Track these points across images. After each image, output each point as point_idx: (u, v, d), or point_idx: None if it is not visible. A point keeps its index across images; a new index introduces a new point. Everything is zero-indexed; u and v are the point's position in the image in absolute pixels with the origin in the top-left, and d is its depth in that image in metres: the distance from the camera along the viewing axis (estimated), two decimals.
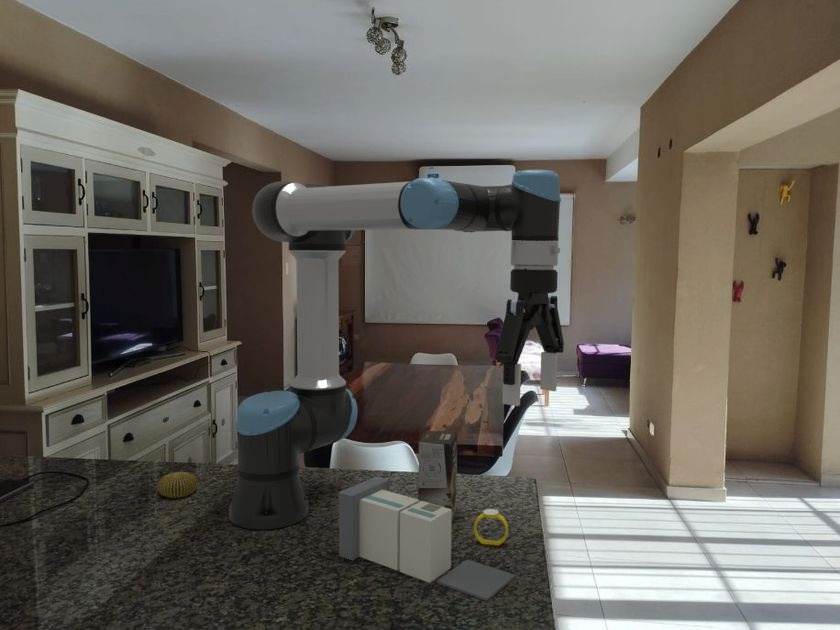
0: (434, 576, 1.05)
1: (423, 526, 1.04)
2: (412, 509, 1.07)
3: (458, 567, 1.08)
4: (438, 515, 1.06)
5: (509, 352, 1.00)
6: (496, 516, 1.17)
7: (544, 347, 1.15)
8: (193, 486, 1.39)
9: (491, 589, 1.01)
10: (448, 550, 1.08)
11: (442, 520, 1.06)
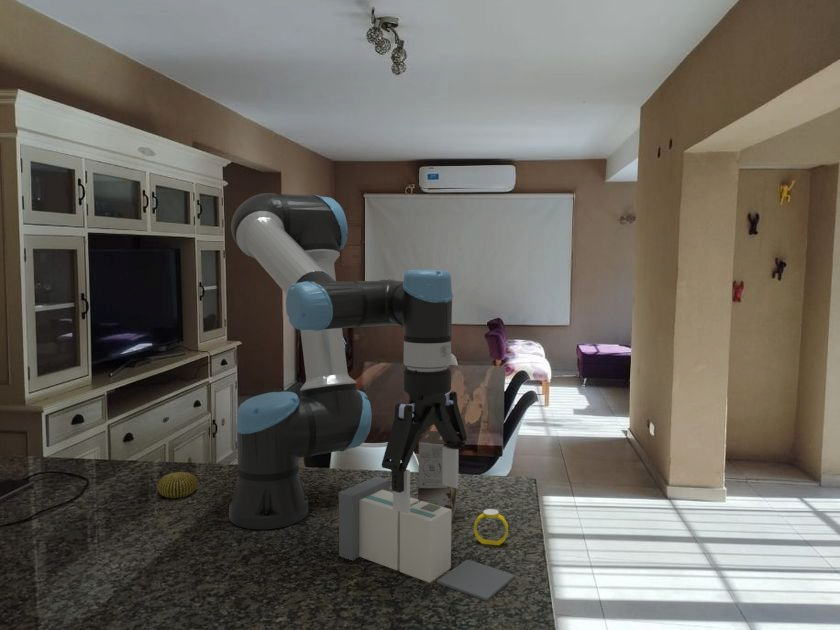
0: (434, 576, 1.05)
1: (423, 526, 1.04)
2: (412, 509, 1.07)
3: (458, 567, 1.08)
4: (438, 515, 1.06)
5: (394, 461, 0.98)
6: (496, 516, 1.17)
7: (446, 442, 1.12)
8: (193, 486, 1.39)
9: (491, 589, 1.01)
10: (448, 550, 1.08)
11: (442, 520, 1.06)
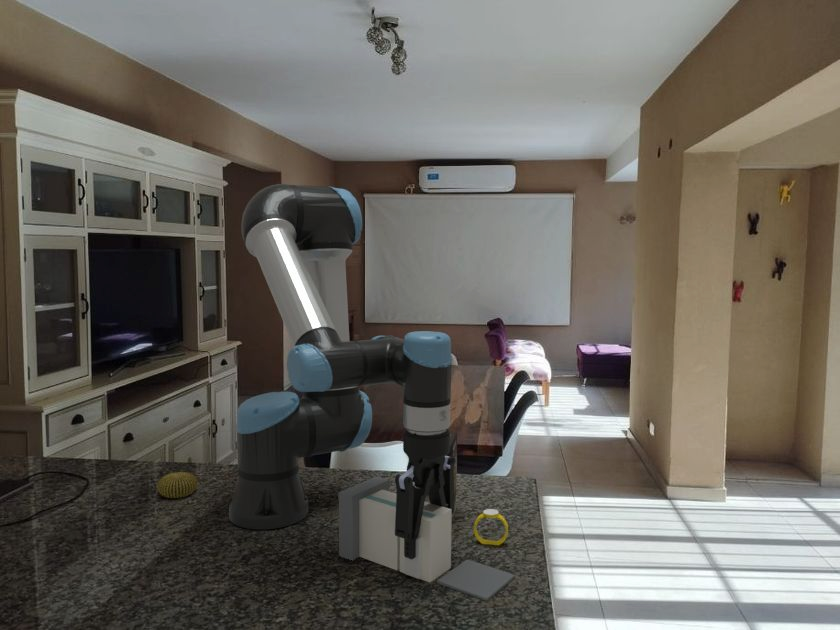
0: (434, 576, 1.05)
1: (423, 526, 1.04)
2: None
3: (458, 567, 1.08)
4: (438, 514, 1.06)
5: (406, 532, 1.01)
6: (496, 516, 1.17)
7: None
8: (193, 486, 1.39)
9: (491, 589, 1.01)
10: (448, 550, 1.08)
11: (442, 520, 1.06)
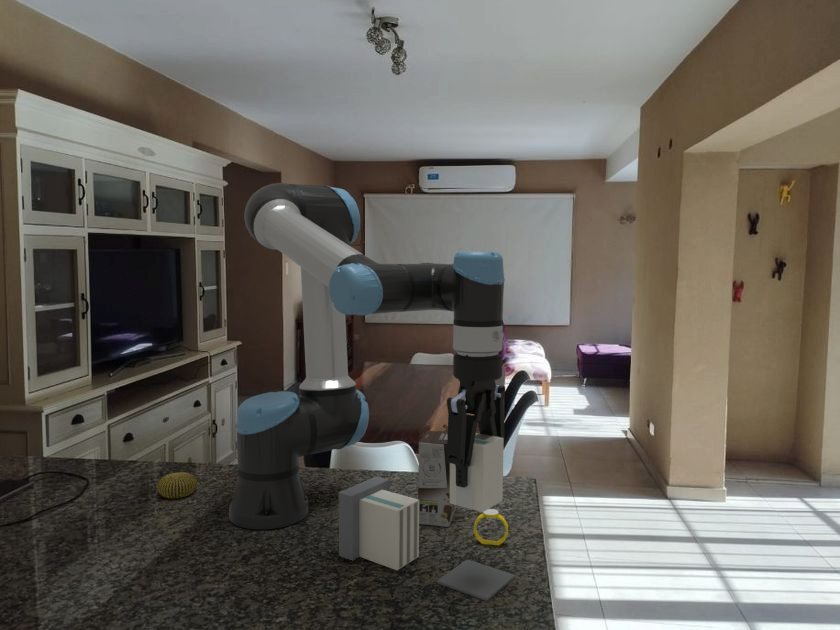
0: (487, 506, 1.00)
1: (476, 452, 0.99)
2: None
3: (458, 567, 1.08)
4: (491, 442, 1.01)
5: (459, 457, 0.97)
6: (496, 516, 1.17)
7: None
8: (193, 486, 1.39)
9: (491, 589, 1.01)
10: (500, 481, 1.03)
11: (495, 448, 1.01)
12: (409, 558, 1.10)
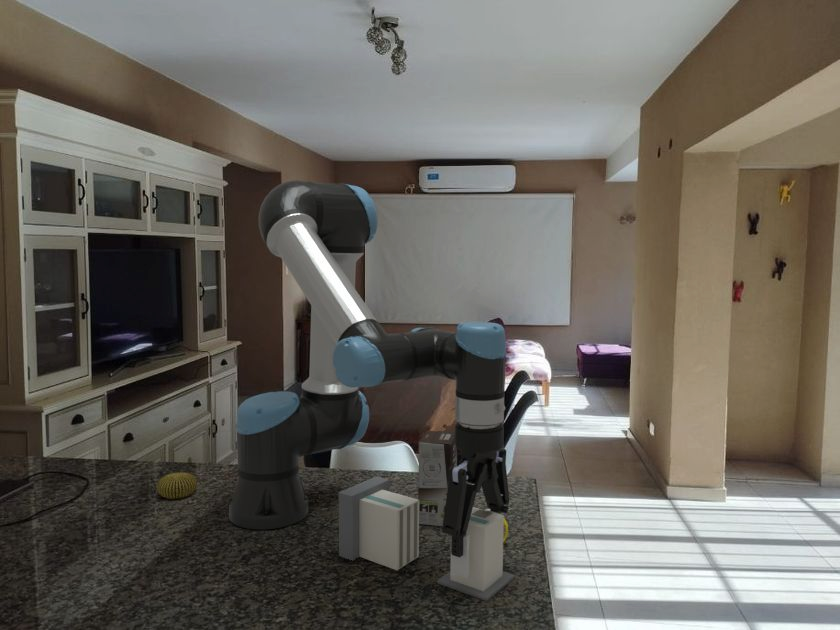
0: (487, 584, 1.02)
1: (477, 532, 1.01)
2: None
3: None
4: (491, 521, 1.02)
5: (455, 528, 0.97)
6: None
7: (488, 504, 1.09)
8: (192, 487, 1.39)
9: (491, 589, 1.01)
10: (501, 557, 1.05)
11: (495, 527, 1.03)
12: (409, 558, 1.10)
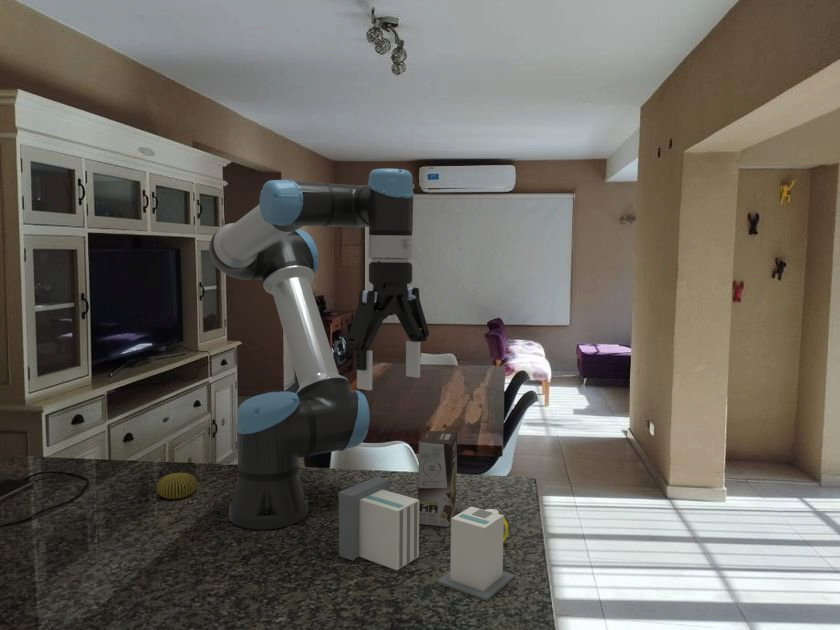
0: (487, 584, 1.02)
1: (477, 532, 1.01)
2: (463, 515, 1.04)
3: None
4: (491, 521, 1.02)
5: (357, 339, 1.07)
6: None
7: (409, 336, 1.21)
8: (192, 487, 1.39)
9: (491, 589, 1.01)
10: (501, 557, 1.05)
11: (495, 527, 1.03)
12: (409, 558, 1.10)
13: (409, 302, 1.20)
